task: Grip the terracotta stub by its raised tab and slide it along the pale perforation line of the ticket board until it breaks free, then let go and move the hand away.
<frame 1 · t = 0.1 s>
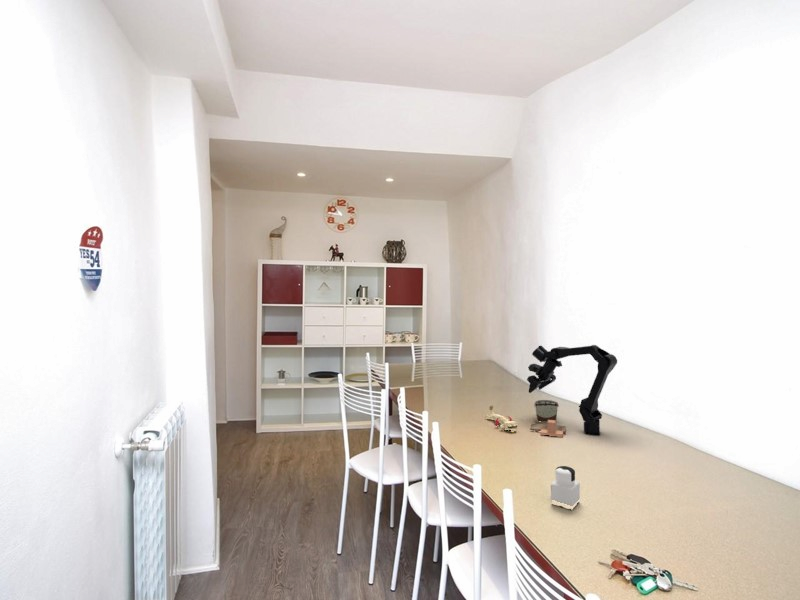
hand: (534, 390, 247), 15 cm above the table, tool tilted 35°, fingers open, 9 cm apart
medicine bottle: (565, 504, 157), on the table
food container: (545, 420, 245), on the table
ticket board: (548, 430, 229), on the table
stub: (551, 428, 222), point 3 cm above the table, slide at 0.0 cm
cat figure: (501, 426, 238), on the table
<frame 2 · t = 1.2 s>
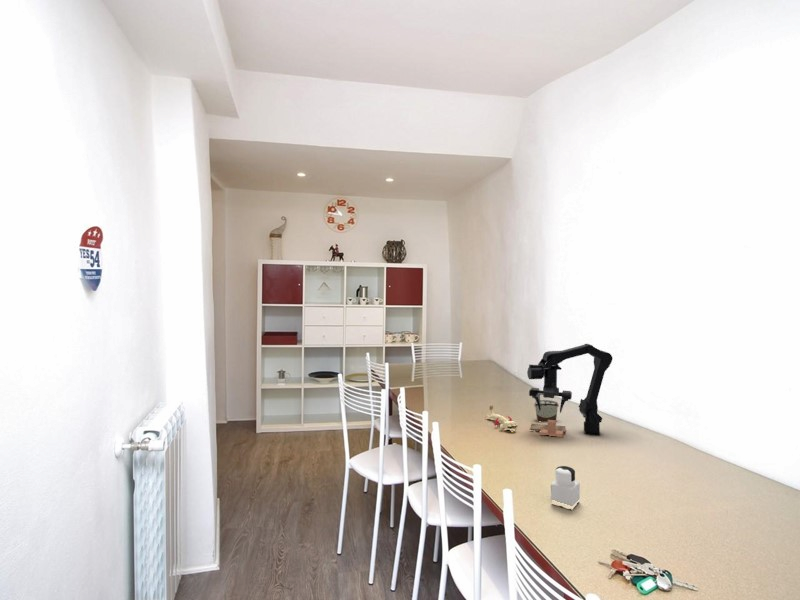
hand: (550, 411, 223), 11 cm above the table, tool pointing down, fingers open, 9 cm apart
nothing on the table moved.
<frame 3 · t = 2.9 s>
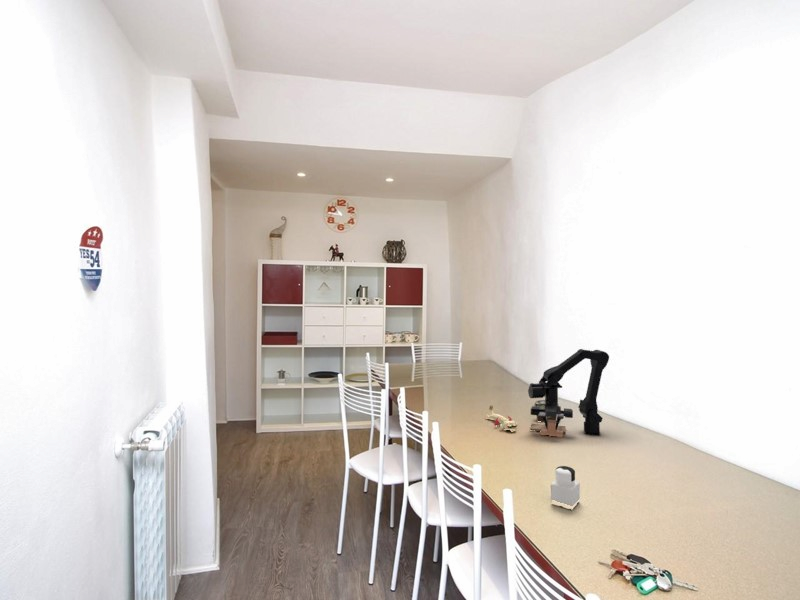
hand: (551, 429, 222), 3 cm above the table, tool pointing down, fingers closed on stub, 3 cm apart
stub: (551, 428, 222), point 3 cm above the table, slide at 0.0 cm, touching gripper
everything else where it was.
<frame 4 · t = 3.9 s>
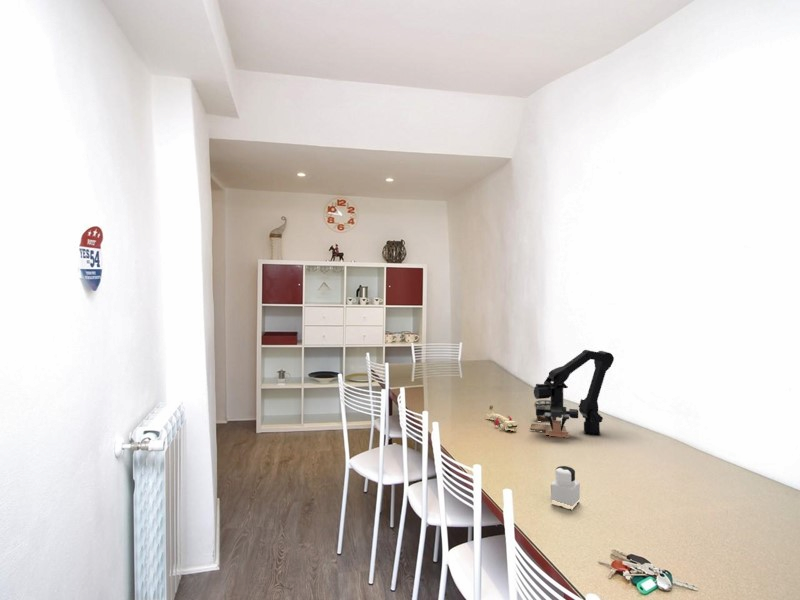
hand: (557, 430, 221), 2 cm above the table, tool pointing down, fingers closed on stub, 3 cm apart
stub: (557, 428, 221), point 3 cm above the table, slide at 2.4 cm, touching gripper
everything else where it was.
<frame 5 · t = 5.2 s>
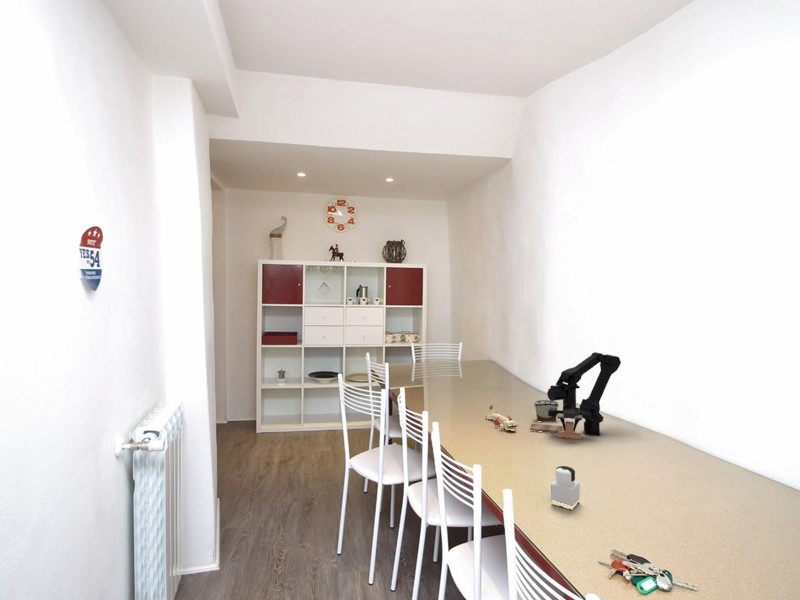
hand: (569, 431, 220), 2 cm above the table, tool pointing down, fingers closed on stub, 3 cm apart
stub: (569, 429, 220), point 3 cm above the table, slide at 7.9 cm, touching gripper
everything else where it was.
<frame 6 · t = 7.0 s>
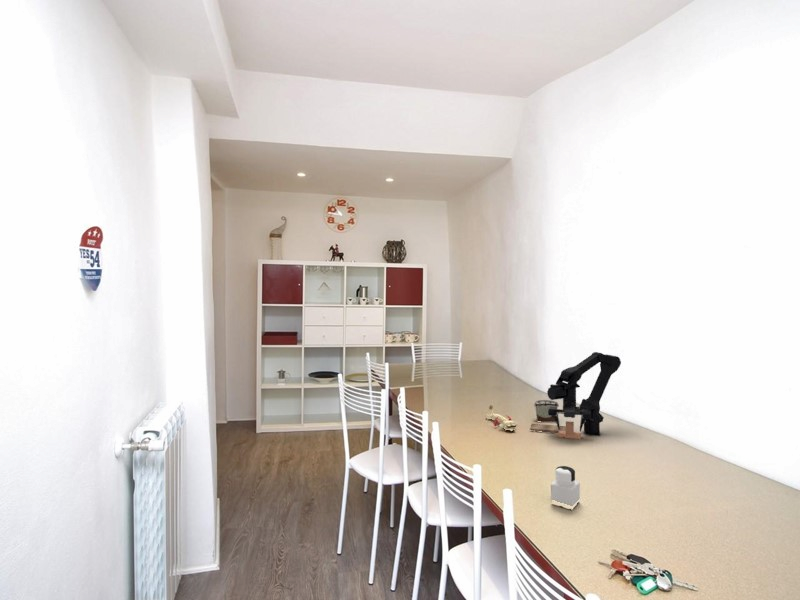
hand: (569, 430, 220), 3 cm above the table, tool pointing down, fingers open, 9 cm apart
stub: (569, 429, 220), point 3 cm above the table, slide at 8.0 cm
everything else where it was.
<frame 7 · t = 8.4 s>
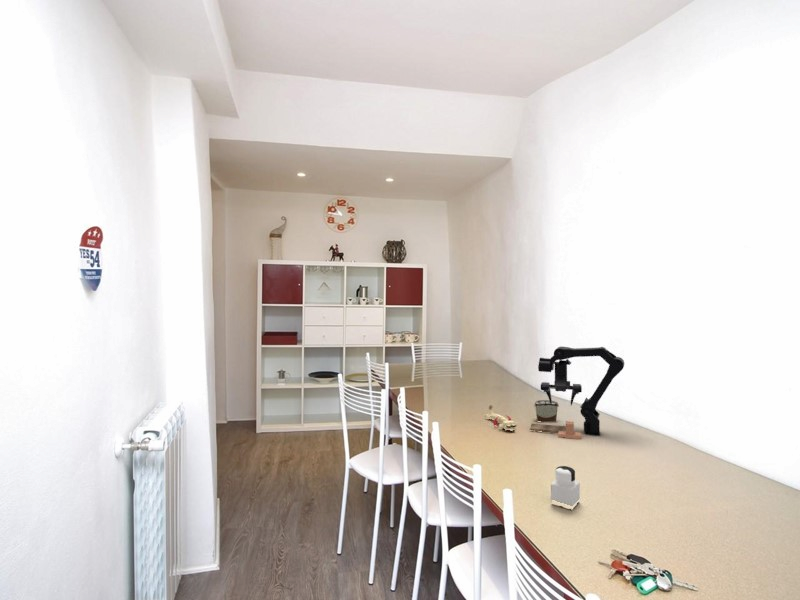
hand: (561, 404, 230), 12 cm above the table, tool pointing down, fingers open, 9 cm apart
nothing on the table moved.
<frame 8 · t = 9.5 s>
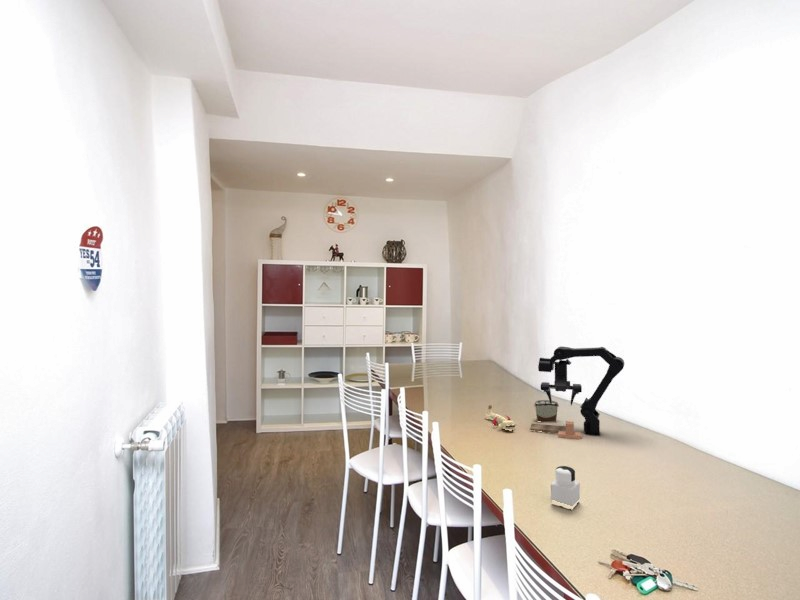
hand: (561, 404, 230), 12 cm above the table, tool pointing down, fingers open, 9 cm apart
nothing on the table moved.
at the end: stub slide at 8.0 cm; the gripper is holding nothing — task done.
